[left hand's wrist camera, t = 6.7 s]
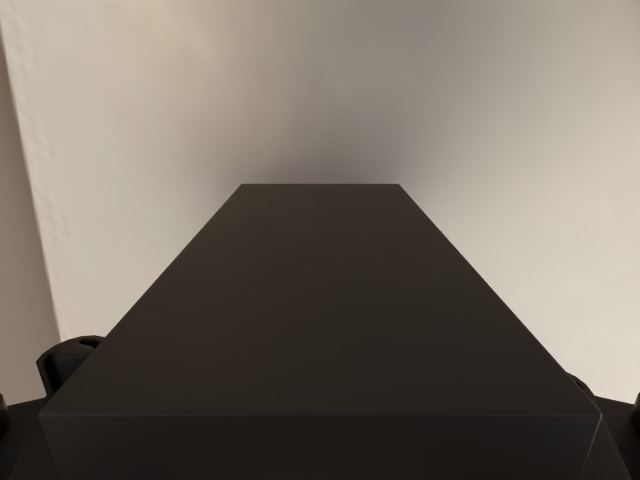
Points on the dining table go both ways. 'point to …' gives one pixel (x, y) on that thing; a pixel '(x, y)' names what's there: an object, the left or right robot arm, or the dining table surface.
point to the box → (320, 358)
